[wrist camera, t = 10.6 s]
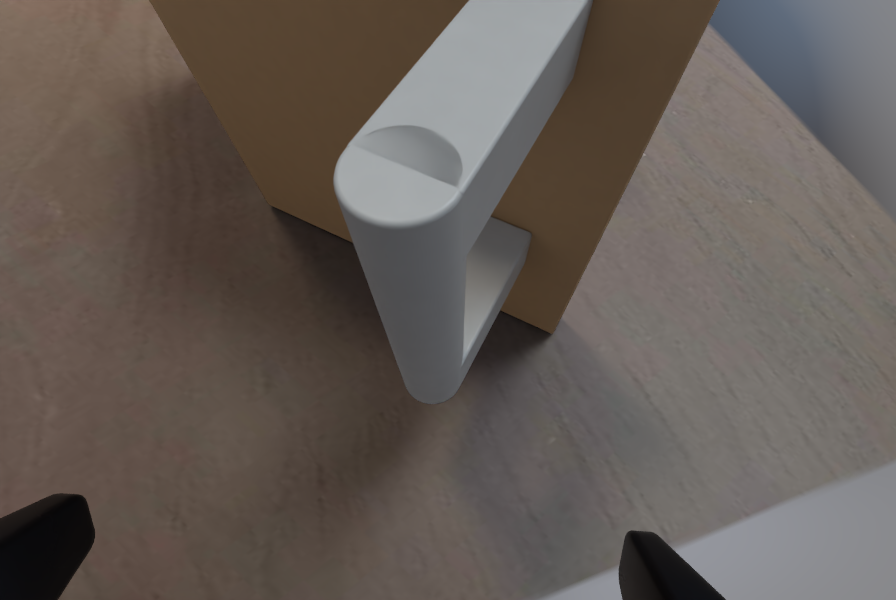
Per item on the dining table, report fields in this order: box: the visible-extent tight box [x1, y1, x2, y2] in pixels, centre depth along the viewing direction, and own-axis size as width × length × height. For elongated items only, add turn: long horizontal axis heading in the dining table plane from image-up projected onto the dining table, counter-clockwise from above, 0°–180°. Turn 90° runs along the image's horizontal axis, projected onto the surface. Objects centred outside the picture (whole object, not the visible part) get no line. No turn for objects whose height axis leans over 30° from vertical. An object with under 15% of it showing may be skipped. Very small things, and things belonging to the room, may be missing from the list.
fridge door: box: [149, 0, 720, 404], centre depth 12 cm, size 6×14×12 cm, turn 62°
